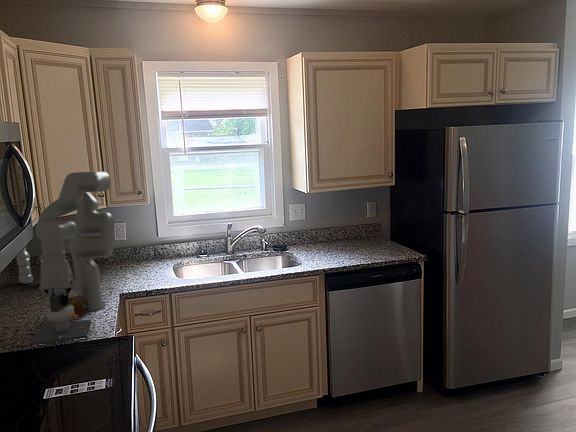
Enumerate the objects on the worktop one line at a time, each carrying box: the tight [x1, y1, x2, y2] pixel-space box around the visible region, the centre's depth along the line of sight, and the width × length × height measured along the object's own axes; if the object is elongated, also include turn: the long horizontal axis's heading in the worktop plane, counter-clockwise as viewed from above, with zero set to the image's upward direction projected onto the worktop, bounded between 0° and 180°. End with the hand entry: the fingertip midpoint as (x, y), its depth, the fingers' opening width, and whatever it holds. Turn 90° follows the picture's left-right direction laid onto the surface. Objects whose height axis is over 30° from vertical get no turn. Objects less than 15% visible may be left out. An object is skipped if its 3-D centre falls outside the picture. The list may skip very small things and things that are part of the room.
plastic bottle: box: [15, 246, 34, 285], centre depth 255 cm, size 6×7×20 cm
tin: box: [48, 295, 89, 318], centre depth 204 cm, size 15×3×8 cm, turn 106°
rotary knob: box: [46, 291, 79, 324], centre depth 184 cm, size 11×9×10 cm
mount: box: [32, 319, 92, 346], centre depth 186 cm, size 17×18×6 cm
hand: (59, 304), depth 184 cm, fingers closed on rotary knob, 3 cm apart
